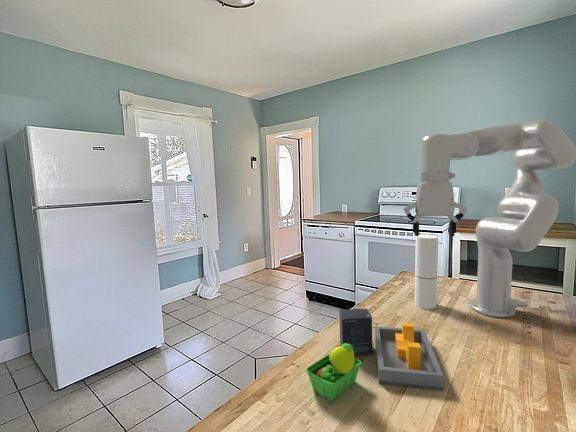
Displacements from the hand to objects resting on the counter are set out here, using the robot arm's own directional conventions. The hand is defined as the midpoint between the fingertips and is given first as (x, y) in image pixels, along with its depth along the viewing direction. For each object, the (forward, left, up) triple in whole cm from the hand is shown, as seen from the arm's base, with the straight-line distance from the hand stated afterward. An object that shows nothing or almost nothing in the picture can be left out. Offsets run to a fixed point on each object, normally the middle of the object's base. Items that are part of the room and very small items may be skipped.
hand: (433, 235), depth 93 cm
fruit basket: (+27, +34, -29) cm, 52 cm away
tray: (+11, +21, -28) cm, 37 cm away
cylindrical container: (-1, -15, -28) cm, 32 cm away
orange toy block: (+10, +21, -28) cm, 36 cm away
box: (+23, +18, -29) cm, 41 cm away
